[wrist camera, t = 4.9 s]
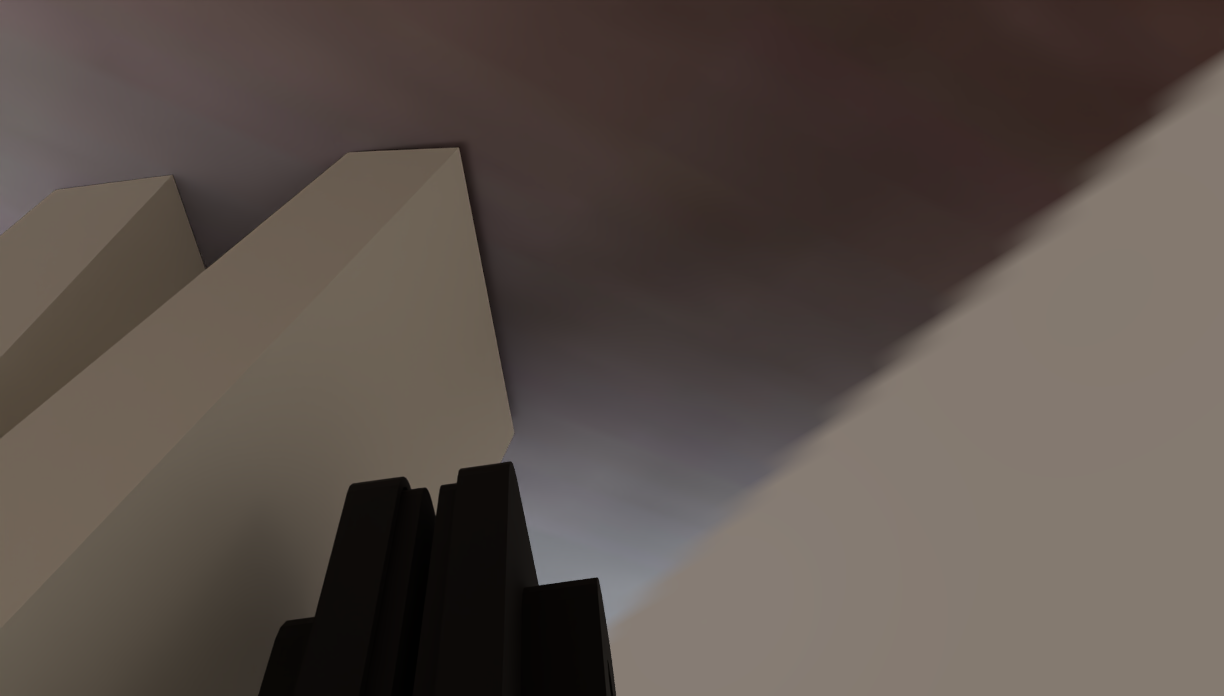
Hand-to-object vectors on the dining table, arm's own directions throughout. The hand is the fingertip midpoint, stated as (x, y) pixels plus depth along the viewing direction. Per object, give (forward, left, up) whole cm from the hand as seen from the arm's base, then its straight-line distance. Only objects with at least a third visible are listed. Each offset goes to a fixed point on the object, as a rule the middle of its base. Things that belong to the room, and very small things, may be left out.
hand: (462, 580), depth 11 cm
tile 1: (+1, 0, -7) cm, 7 cm away
